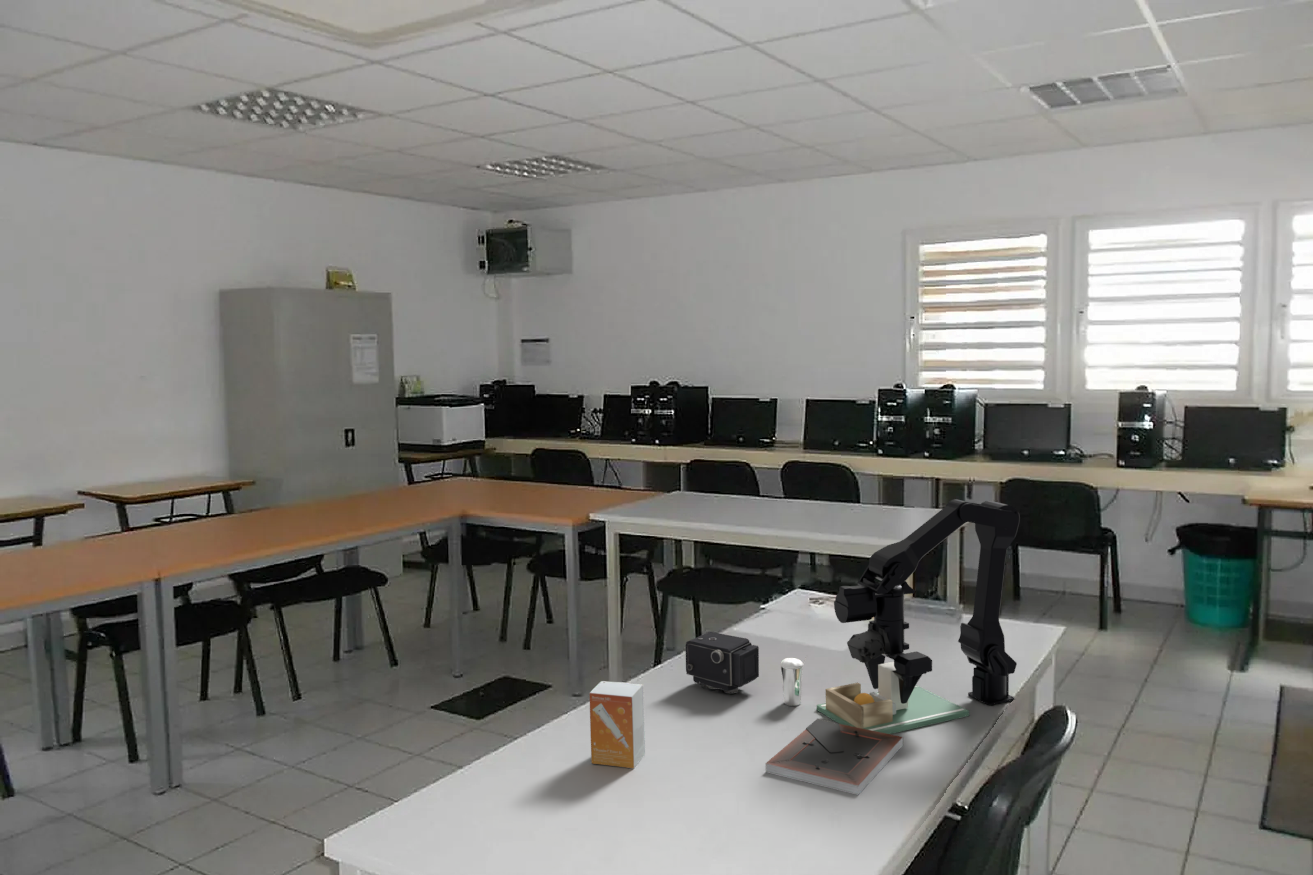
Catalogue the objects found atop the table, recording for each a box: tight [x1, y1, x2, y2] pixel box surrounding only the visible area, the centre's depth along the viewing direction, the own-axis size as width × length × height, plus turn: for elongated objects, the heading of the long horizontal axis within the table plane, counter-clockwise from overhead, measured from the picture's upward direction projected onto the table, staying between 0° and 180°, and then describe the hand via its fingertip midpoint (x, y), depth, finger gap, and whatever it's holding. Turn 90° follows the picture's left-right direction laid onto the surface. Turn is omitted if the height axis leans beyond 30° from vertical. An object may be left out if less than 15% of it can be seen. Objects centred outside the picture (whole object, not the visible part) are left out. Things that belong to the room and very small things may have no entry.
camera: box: [685, 631, 760, 694], centre depth 199 cm, size 11×11×15 cm
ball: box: [854, 692, 875, 705], centre depth 181 cm, size 4×4×4 cm
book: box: [765, 718, 904, 796], centre depth 164 cm, size 16×2×22 cm
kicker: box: [869, 661, 908, 715], centre depth 183 cm, size 5×7×8 cm
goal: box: [825, 682, 893, 728], centre depth 180 cm, size 8×11×4 cm
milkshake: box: [780, 655, 808, 707], centre depth 190 cm, size 4×5×10 cm
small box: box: [589, 680, 646, 770], centre depth 166 cm, size 8×6×13 cm
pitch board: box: [816, 684, 970, 735], centre depth 184 cm, size 24×16×1 cm, turn 113°
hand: (889, 695), depth 183 cm, fingers open, 8 cm apart
